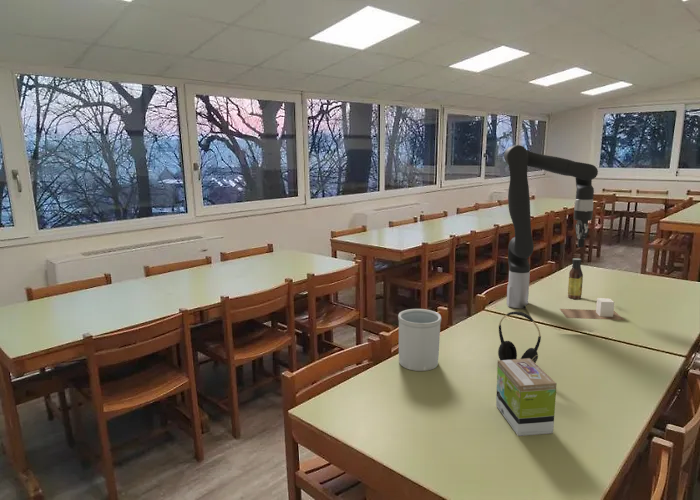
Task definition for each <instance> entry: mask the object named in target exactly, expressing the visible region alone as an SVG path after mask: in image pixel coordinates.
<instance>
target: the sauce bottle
mask: <svg viewBox="0 0 700 500" xmlns="http://www.w3.org/2000/svg"><path fill="white" fill-rule="evenodd" d="M581 263H582V258H579V257H577V258H572V264H571V267H572V268H571V269H570V270H569V273H568V274H569V275H568V285H567V286H568V287H567V296H568V297H567V298H569V299H572V300H579V299H581V298H582V295H583V294H582V293H583V282H584V281H583V280H584V279H583V278H584V274H583V271H582V267H581V266H582V264H581Z"/></svg>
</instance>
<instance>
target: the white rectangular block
mask: <svg viewBox="0 0 700 500" xmlns="http://www.w3.org/2000/svg"><path fill="white" fill-rule="evenodd" d="M595 310H596V313H597V314H598V315H599V316H605V317H613V312H614V311H615V301H613V300H612V299H611V298H610V297H609V298H607V297H606V298H603V297H597V298H596V308H595Z"/></svg>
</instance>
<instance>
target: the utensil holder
mask: <svg viewBox="0 0 700 500" xmlns="http://www.w3.org/2000/svg"><path fill="white" fill-rule="evenodd" d="M397 319H398V362H399V365H400V366H401V367H403V368H405V369H407V370H410V371H416V372H425V371H426V372H427V371H431V370H434V369H435V368H437V366H438V365H439V355H440V353H439V352H440V340H441V339H440V337H441V323H442V315H441V314H440V313H439V312H436V311H435V310H431V309H425V308H410V309H405V310H402V311H400V312H399V313H398V316H397Z"/></svg>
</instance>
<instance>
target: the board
mask: <svg viewBox="0 0 700 500" xmlns="http://www.w3.org/2000/svg"><path fill="white" fill-rule="evenodd" d="M559 310H560V311H561V313H562V314H563V315H564V316H565V317H566V318H567V319H583V320H584V319H585V320H586V319H589V320H592V319H593V320H610V321H611V320H613V321H617V320H618V321H625V319H624V318H623V317H622V316H621V315H620V314H618V312H616V311H615V310H614V312H613V317H605V316H599V315H598V314H597V313H596V309H578V308H577V309H574V308H573V309H571V308H559Z"/></svg>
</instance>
